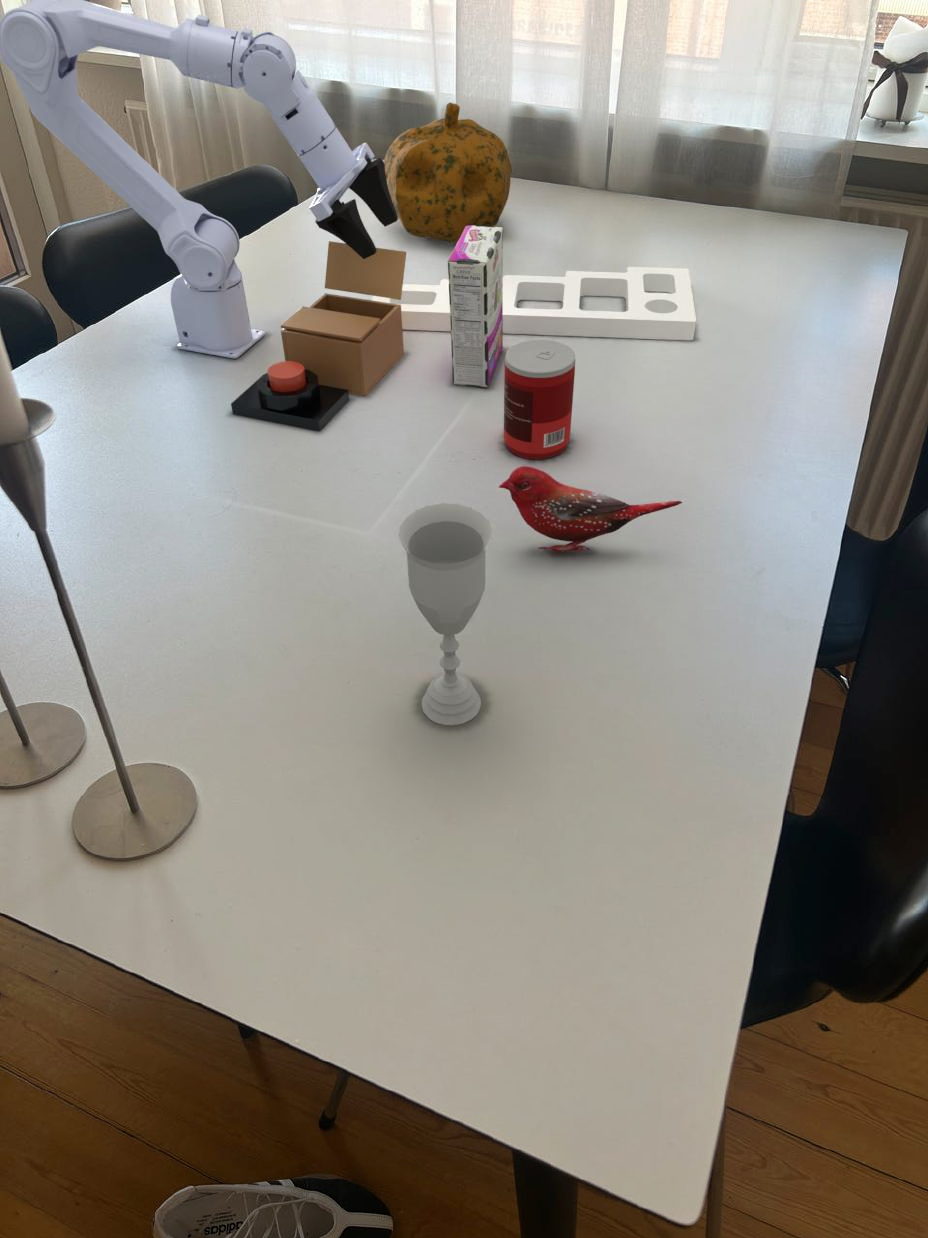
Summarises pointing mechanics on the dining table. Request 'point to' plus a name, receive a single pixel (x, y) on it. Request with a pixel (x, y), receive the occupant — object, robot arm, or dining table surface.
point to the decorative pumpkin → (447, 177)
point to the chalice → (447, 594)
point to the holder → (572, 305)
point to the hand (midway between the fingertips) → (381, 238)
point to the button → (287, 376)
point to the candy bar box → (476, 305)
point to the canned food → (538, 398)
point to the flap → (365, 271)
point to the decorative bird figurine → (570, 509)
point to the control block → (292, 403)
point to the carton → (345, 341)
